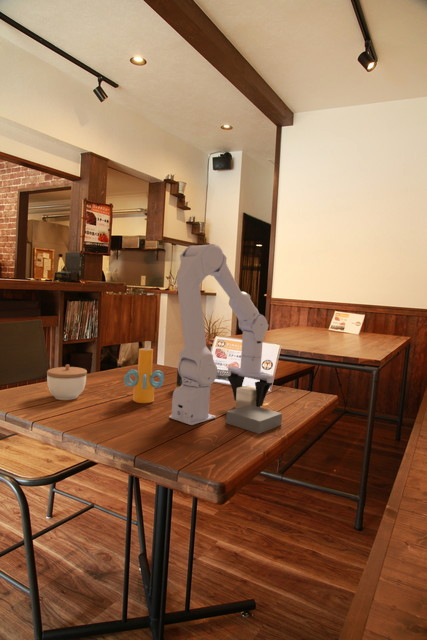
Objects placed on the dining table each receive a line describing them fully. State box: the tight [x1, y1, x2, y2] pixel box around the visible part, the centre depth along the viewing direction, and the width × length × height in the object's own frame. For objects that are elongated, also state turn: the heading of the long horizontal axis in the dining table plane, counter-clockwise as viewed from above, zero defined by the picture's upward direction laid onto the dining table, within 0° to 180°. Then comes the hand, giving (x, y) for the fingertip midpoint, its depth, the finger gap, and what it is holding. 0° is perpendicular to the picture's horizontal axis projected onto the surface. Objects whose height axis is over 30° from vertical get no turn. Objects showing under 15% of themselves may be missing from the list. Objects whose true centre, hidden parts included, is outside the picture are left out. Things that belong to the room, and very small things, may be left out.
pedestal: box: [225, 405, 283, 435], centre depth 105 cm, size 10×10×3 cm
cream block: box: [234, 385, 256, 409], centre depth 118 cm, size 5×5×6 cm
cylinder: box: [123, 347, 165, 404], centre depth 120 cm, size 12×10×15 cm
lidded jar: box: [46, 364, 88, 401], centre depth 119 cm, size 11×11×9 cm
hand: (248, 403), depth 118 cm, fingers open, 7 cm apart
